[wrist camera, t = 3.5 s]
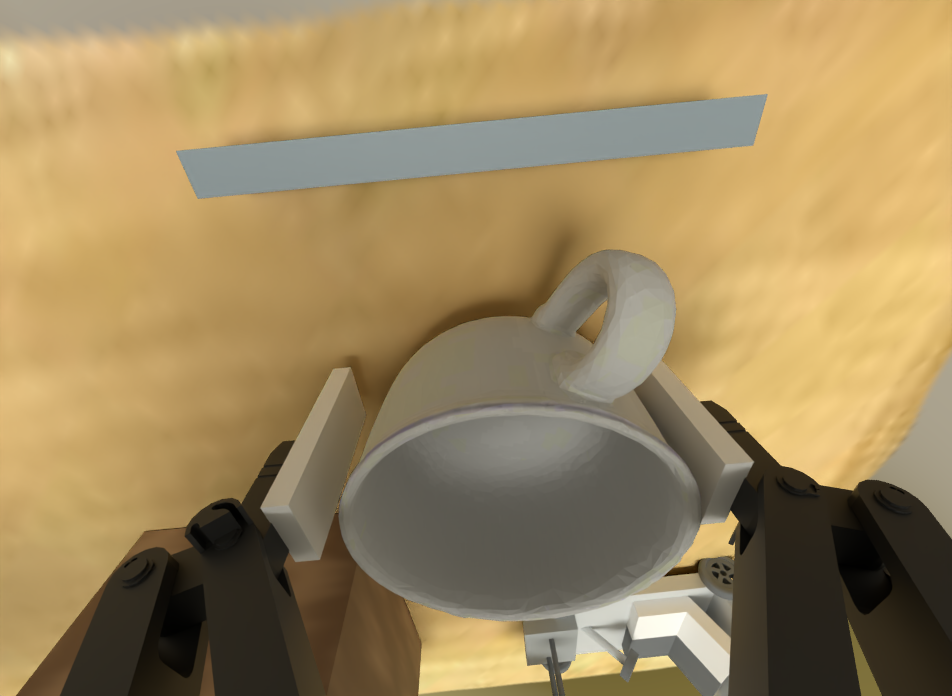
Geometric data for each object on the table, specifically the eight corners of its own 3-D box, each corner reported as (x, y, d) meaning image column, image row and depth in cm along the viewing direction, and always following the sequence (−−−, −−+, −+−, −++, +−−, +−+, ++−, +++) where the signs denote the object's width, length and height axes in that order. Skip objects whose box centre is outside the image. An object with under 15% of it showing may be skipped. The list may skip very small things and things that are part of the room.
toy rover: (525, 806, 25) (517, 769, 19) (507, 637, 33) (498, 575, 27) (779, 780, 25) (852, 734, 19) (697, 617, 33) (730, 549, 27)
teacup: (527, 484, 21) (560, 649, 14) (351, 424, 18) (288, 598, 11) (702, 292, 15) (903, 419, 8) (485, 154, 12) (521, 178, 5)
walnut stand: (269, 658, 32) (197, 860, 23) (144, 531, 22) (-73, 808, 13) (421, 644, 32) (408, 840, 23) (369, 510, 22) (308, 772, 13)
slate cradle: (367, 506, 22) (357, 547, 20) (227, 147, 12) (175, 150, 10) (627, 481, 22) (646, 519, 19) (710, 101, 12) (767, 94, 9)
